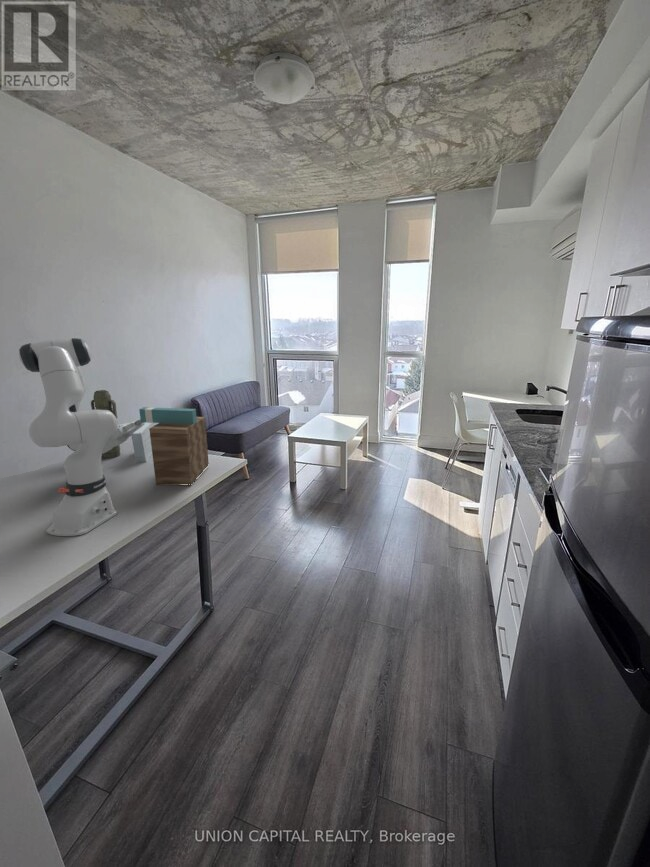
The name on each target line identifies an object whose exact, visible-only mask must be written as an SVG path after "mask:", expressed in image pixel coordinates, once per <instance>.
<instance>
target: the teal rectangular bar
mask: <svg viewBox="0 0 650 867" xmlns="http://www.w3.org/2000/svg"><path fill="white" fill-rule="evenodd" d="M138 411H139V418H140V419H141V422H145V423H152V424H158V423H176V424H194V423H196V422H197V417H198V416H197V409H196V408H181V407H180V408H176V407H175V408H174V407H153V406H152V407H146V406H145V407H142V408H139V410H138Z"/></svg>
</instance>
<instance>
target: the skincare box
mask: <svg viewBox="0 0 650 867" xmlns="http://www.w3.org/2000/svg"><path fill="white" fill-rule="evenodd" d="M153 426H154V425H153V423H146V422H145V424H144V425H143V426H142V427H141V428H139V429H138V430H136V431H135V432H134V434H133V435H131V436H130V437H131V441H132V446H133V451H134V457H135V458H134V459H135V463H147V462H148V460H149V459H150V458H151V456H152V455H151V454H152V447H151V439H150V431H149V428H151V427H153ZM149 457H150V458H149ZM146 461H147V462H146Z"/></svg>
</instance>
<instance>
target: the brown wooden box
mask: <svg viewBox="0 0 650 867" xmlns="http://www.w3.org/2000/svg"><path fill="white" fill-rule="evenodd" d="M196 417H197V422H196V423H194V424H176V423H156V424H155V425H153V427H151V428H149V431H150V439H151V447H152V455H151V456H152V462H153V469H154V470H153V472H154V478H155V485H158V484H188V485H189V484H190V485H191V484H192V483H193V482H194V481H195V480H196V478H197V477H198V476H199V475H200V474H201V473H202V472H203V470H204V469H205V468H206V467H207V466H208V464H209V465H210V462H209V451H208V449H209V448H208V438H207V427H206V426H207V424H206V417H205V416H196ZM196 481H197V480H196Z"/></svg>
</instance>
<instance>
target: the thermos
mask: <svg viewBox="0 0 650 867" xmlns="http://www.w3.org/2000/svg"><path fill="white" fill-rule="evenodd" d="M92 397H93V399H92V400H91V401H90V406H91V410H109V411H110V412H112V413H113V414H114V415H115V417H116V419H117V420H118V414H117V411H118V410H117V404H116V402H115V401H114V400H113V399H112V397H111V394H110V392H109V391H108V390H104V389H101V390H96V391H94V392H93V396H92ZM120 445H121V444H120ZM120 445H118V446H115V447H113V448H112V449H111V450H109V451H108V452H106V453H103V454H102V455H101V458H103V459H115V458H117V457H118V458H119V456H121V446H120Z"/></svg>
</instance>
